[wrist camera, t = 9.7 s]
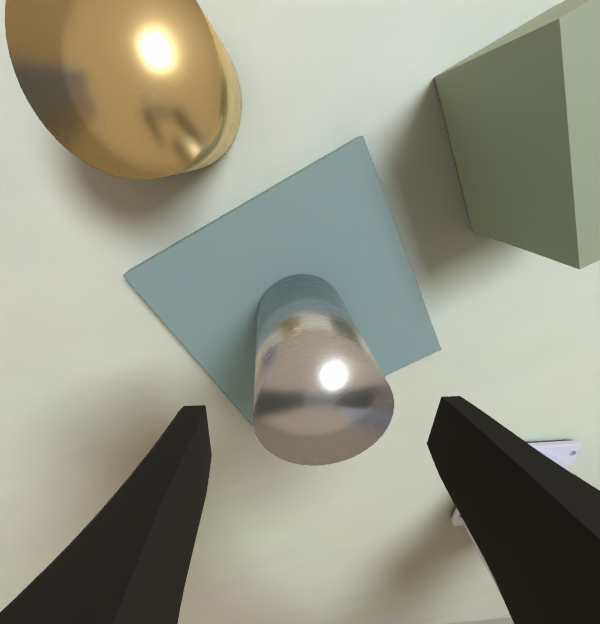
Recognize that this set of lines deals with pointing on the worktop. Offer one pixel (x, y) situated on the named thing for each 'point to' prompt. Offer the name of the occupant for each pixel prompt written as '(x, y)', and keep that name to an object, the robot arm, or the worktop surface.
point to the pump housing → (532, 134)
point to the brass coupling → (127, 82)
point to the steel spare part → (315, 376)
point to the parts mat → (291, 271)
